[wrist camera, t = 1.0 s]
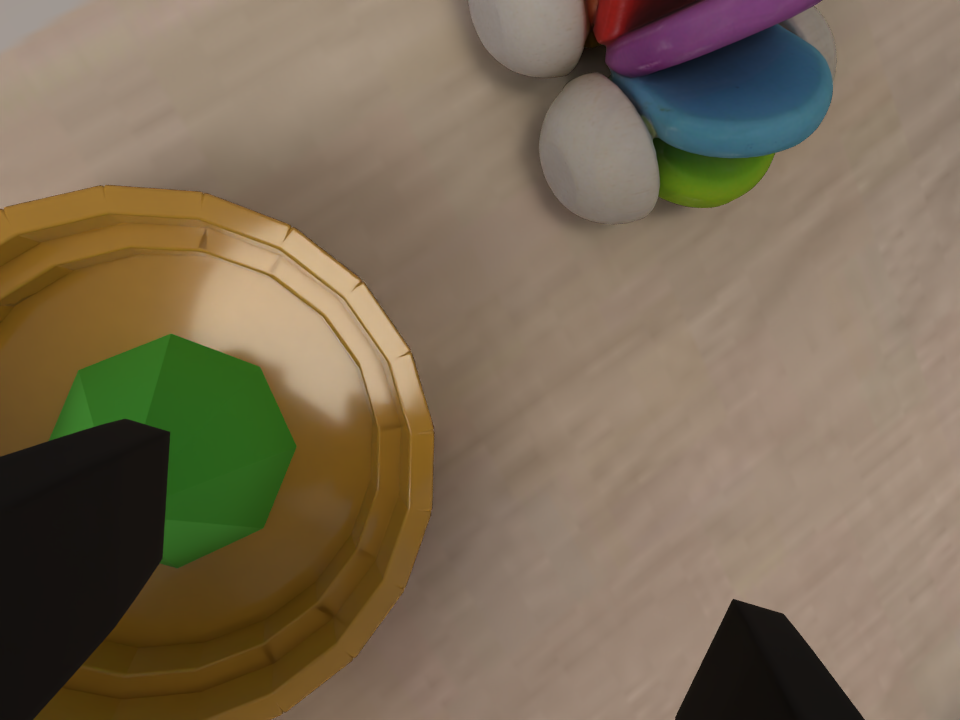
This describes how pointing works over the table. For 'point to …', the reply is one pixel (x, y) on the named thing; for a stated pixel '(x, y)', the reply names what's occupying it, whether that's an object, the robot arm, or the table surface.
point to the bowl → (305, 408)
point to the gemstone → (194, 436)
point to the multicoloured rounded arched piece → (666, 94)
